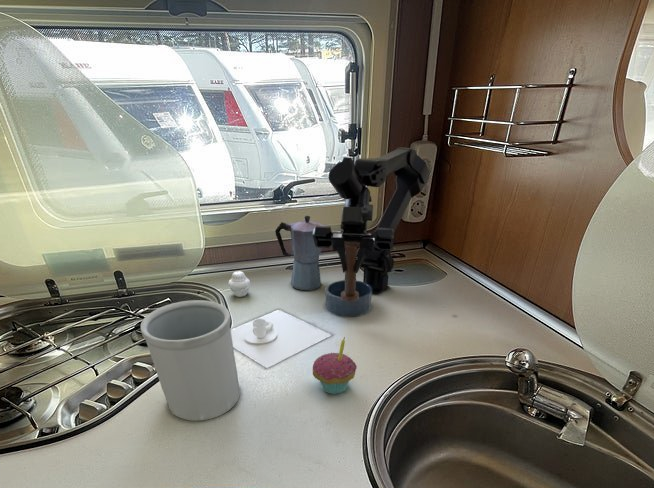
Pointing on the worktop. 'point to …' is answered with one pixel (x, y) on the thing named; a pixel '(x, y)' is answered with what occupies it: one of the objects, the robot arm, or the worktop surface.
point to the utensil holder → (193, 357)
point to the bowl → (348, 308)
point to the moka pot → (302, 254)
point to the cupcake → (334, 370)
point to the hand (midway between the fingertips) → (349, 272)
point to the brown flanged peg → (350, 274)
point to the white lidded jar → (239, 284)
